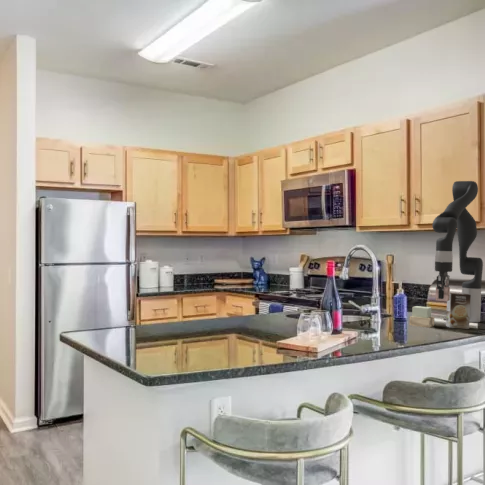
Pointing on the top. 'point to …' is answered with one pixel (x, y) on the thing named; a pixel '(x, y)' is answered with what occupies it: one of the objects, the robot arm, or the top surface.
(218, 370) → the top surface
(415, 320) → the tower base
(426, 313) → the tower mid
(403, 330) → the top surface
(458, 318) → the coffee box
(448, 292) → the rose block
